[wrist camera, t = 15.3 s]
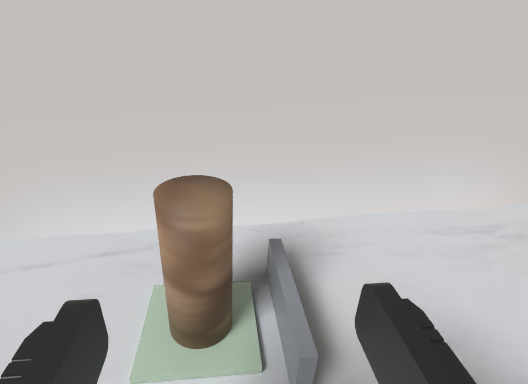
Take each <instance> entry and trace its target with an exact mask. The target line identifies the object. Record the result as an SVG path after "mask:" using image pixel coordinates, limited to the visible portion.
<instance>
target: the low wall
mask: <svg viewBox="0 0 528 384" xmlns="http://www.w3.org/2000/svg"><path fill="white" fill-rule="evenodd" d="M267 276H268V281H269V285H270V290H271V295H272V300H273V304H274V309H275V314H276V319H277V323H278V328H279V333H280V337H281V342H282V347H283V352H284V356H285V361H286V366H287V370H288V375H289V380H290V384H313V382H314V377H315V372H316V367H317V362H318V357H319V356H318V353H317V350H316V347H315V344H314V341H313V338H312V334H311V331H310V328H309V325H308V322H307V319H306V316H305V313H304V309H303V306H302V303H301V300H300V297H299V294H298V291H297V287H296V284H295V281H294V278H293V275H292V272H291V269H290V266H289V262H288V259H287V256H286V253H285V250H284V247H283V244H282V241H281V239H269V246H268V258H267Z"/></svg>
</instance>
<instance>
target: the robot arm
mask: <svg viewBox="0 0 528 384" xmlns="http://www.w3.org/2000/svg"><path fill="white" fill-rule="evenodd" d="M355 328H356V333H357V336H358V339H359V341H360V343H361V346H362V348H363V350H364V352H365V354H366V357H367V359H368V361H369V363H370V365H371V368H372V370H373V372H374V374H375V376H376V379H377V381H378V383H379V384H476V383H475V381H474V380H473V378H472V377H471V376H470V374H469V373H468V372H467V370H466V369H465V368H464V366H463V365H462V363H461V362H460V361H459V359H458V358H457V357H456V355H455V354H454V353H453V351H452V350H451V348H450V347H449V346H448V344H447V343H445V342H444V339H443V338H442V336H441V335H440V333H439V332H438V331H437V329H436V330H435V328H434V325H433V324H432V322H431V321H430V320H429V318H428V317H427V316H426V314H425V313H424V312H423V311H422V310H421V309H420V308H419V307H417V306H416V305H415V304H414V303H412V302H411V301H410V300H409V299H401V297H400V296H399V294H398V293H397V292H396V290H395V289H394V287H393V286H392V285H391V284H390V283H373V284H364V286H363V288H362V291H361V295H360V300H359V304H358V308H357V312H356V316H355ZM107 350H108V333H107V329H106V326H105V322H104V318H103V314H102V310H101V307H100V303H99V301H98V300H97V299H87V300H70V301H66V302H65V303H64V304H63V306H62V307H61V309H60V311H59V313H58V314H57V316H56V318H55V320H54V321H51V322H43V323H42V324H41V325H40V326H39V327H37V328H36V329H35V330H34V331H33V332H32V333H31V334H30V335H29V336H27V337H26V338H25V339H24V341H23V342H22V344H21V345H20V347H19V349H18V350H17V352H16V353H15V355H14V356H13V358H12V362H11V363H9V364H8V366H7V367H6V369H5V370H4V372H3V374H2V375H1V379H0V384H97V381H98V378H99V376H100V373H101V370H102V367H103V364H104V361H105V358H106V355H107Z"/></svg>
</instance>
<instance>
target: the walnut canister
mask: <svg viewBox="0 0 528 384" xmlns="http://www.w3.org/2000/svg"><path fill="white" fill-rule="evenodd" d="M232 194H233V190H232V187H231V186H230V184H229V183H227V182H226V181H224V180H222V179H219V178H216V177H211V176H203V175H192V176H182V177H177V178H173V179H170V180H168V181H165V182H163V183H162V184H160V185H159V186H157V188H156V189H155V190H154V193H153V195H154V204H155V212H156V220H157V229H158V237H159V245H160V253H161V262H162V270H163V278H164V286H165V294H166V302H167V311H168V319H169V327H170V333H171V335H172V337H173V339H174V340H175V341H176V342H177V343H178V344H179V345H181V346H183V347H186V348H190V349H204V348H208V347H211V346H213V345H215V344H217V343H219V342H220V341H221V340H223V339H224V338H225V337H226V335H227V334H228V333H229V331H230V329H231V325H232V220H233V219H232V218H233V214H232V213H233V212H232V210H233V195H232Z"/></svg>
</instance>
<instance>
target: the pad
mask: <svg viewBox="0 0 528 384" xmlns="http://www.w3.org/2000/svg"><path fill="white" fill-rule="evenodd" d="M259 372H262V363H261V356H260V348H259V341H258V334H257V326H256V319H255V312H254V304H253V297H252V290H251V282H250V281H246V282H232V325H231V329H230V331H229V333H228V334H227V335H226V337H225V338H224V339H223V340H221V341H220V342H219V343H217V344H215V345H213V346H211V347H208V348H204V349H190V348H186V347H183V346H181V345H179V344H178V343H177V342H176V341H175V340H174V339H173V337H172V335H171V333H170V327H169V319H168V311H167V302H166V294H165V286H164V285H155V286H154V288H153V292H152V296H151V300H150V304H149V307H148V311H147V315H146V319H145V323H144V327H143V330H142V334H141V338H140V342H139V346H138V350H137V354H136V357H135V361H134V365H133V369H132V373H131V377H130V382H131V384H133V383H144V382H156V381H167V380H179V379H190V378H202V377H213V376H225V375H236V374H248V373H259Z"/></svg>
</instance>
